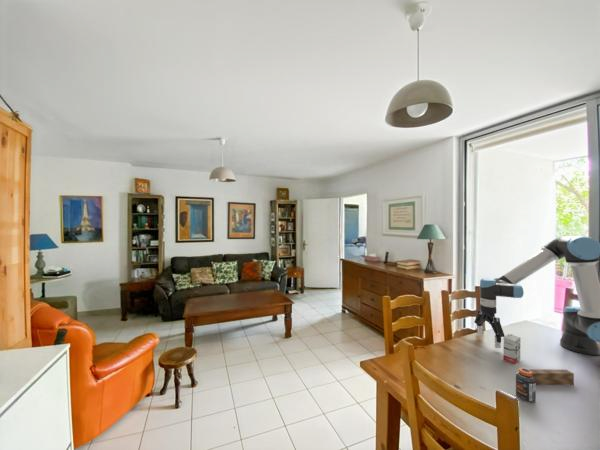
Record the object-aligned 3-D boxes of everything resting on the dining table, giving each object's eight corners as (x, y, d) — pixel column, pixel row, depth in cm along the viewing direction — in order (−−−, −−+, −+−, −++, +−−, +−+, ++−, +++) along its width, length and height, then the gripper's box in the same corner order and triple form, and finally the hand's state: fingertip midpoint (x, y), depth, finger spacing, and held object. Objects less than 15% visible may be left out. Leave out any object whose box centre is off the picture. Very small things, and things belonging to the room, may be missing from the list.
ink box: (515, 364, 124) (514, 340, 124) (503, 360, 128) (502, 337, 128) (521, 359, 128) (520, 336, 129) (509, 355, 133) (508, 333, 133)
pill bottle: (511, 393, 102) (511, 366, 102) (525, 392, 103) (524, 365, 103) (526, 404, 96) (525, 374, 96) (540, 403, 97) (539, 374, 97)
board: (566, 380, 111) (566, 369, 111) (573, 385, 108) (573, 373, 108) (523, 380, 111) (523, 369, 111) (529, 384, 108) (529, 373, 108)
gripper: (467, 299, 157) (467, 332, 157) (498, 312, 132) (498, 352, 132) (479, 299, 157) (479, 332, 157) (512, 312, 132) (513, 352, 132)
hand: (488, 342), depth 144 cm, fingers open, 13 cm apart
